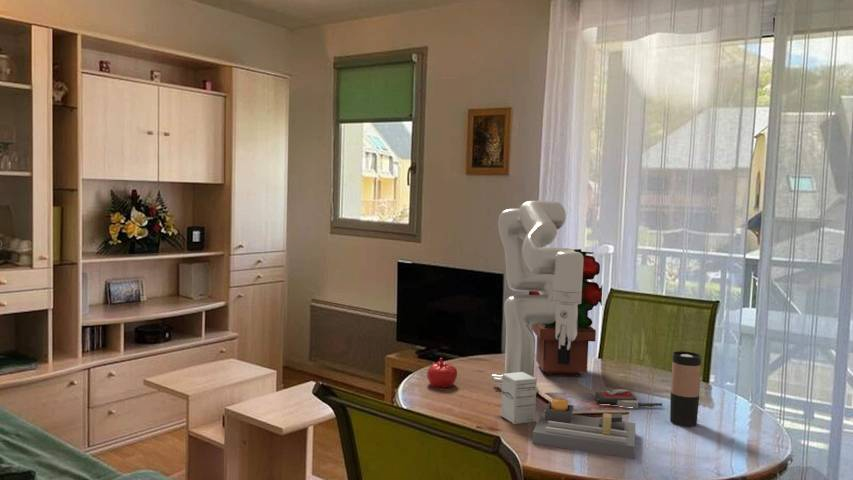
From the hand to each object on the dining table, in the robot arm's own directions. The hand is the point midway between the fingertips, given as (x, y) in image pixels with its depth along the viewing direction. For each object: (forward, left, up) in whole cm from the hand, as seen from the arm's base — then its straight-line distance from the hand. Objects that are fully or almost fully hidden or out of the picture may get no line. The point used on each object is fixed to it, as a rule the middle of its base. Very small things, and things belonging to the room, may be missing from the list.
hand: (563, 363), depth 175 cm
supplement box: (-13, +4, -19) cm, 23 cm away
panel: (+7, -4, -19) cm, 20 cm away
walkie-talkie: (+16, +31, -19) cm, 40 cm away
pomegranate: (-43, +27, -19) cm, 54 cm away
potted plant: (-8, +62, -19) cm, 65 cm away
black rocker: (+13, 0, -14) cm, 19 cm away
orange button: (-1, 0, -13) cm, 14 cm away
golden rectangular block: (+12, -9, -15) cm, 21 cm away
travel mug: (+32, +20, -19) cm, 42 cm away
